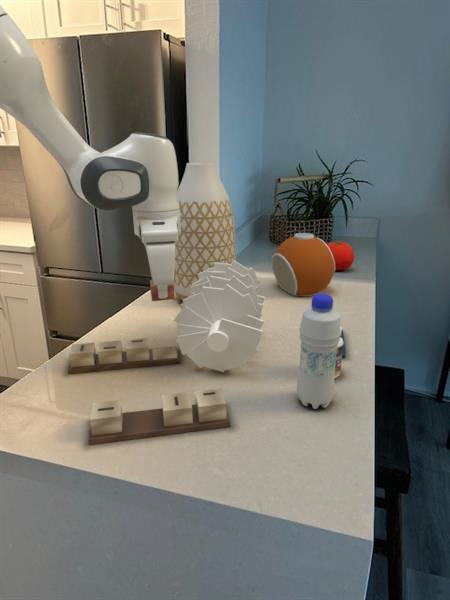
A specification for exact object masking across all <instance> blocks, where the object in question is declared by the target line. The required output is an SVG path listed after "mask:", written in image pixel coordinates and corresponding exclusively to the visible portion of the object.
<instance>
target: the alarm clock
mask: <svg viewBox="0 0 450 600" xmlns="http://www.w3.org/2000/svg"><path fill="white" fill-rule="evenodd" d="M271 269H272V273H273V275H274V277H275V280H276V282H277V284H278V285H279V287H280V289H282V290H284V291H285V292H287V293H289V294H290V295H292V296H298V297H313V296H314V295H316V294H321V293H322V291H323V290H325V289H326V288H327V287H328V286H329V285H330V283H331V281H332V279H333V277H334V275H335V272H336V270H335V261H334V257H333V254H332V252H331V251H330V249H329V247H328V246H327V243H326V241H324V240H323V239H321V238H319V237H317V236H315V235H314V234H313V233H309V232H298V233H295V234H294V236H290V237H289V238H287V239H285V240H284V241H283V242H282V243H281V244H280V245H279V246H278V247H277V248H276V250H275V251H274V252H273V254H272V256H271Z"/></svg>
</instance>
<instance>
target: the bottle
mask: <svg viewBox="0 0 450 600" xmlns="http://www.w3.org/2000/svg"><path fill="white" fill-rule="evenodd" d="M333 307H334V299H333V297H332V296H331V294H330V295H329V294H327V293H318V294H316V295H312V298H311V307H309V308H306V309H305V310H304V311H303V312H302V318H301V322H300V326H299V340H300V356H299V372H298V378H297V384H296V385H297V386H296V394H297V398H298V400H299V401H301V404H302V405H303V406H305V407H308V406H309V405H311V406H312V409H313V410H317V409H319V407H320V406H321V408H323V409H325V408H327V407H329V405H330V403H331V402H332V400H333V398H334V394H335V378H334V373H335V363H336V353H337V344H338V343H339V341H340V335H341V329H340V326H341V315H340V313H339V312H337V311H336V310H334V309H333Z"/></svg>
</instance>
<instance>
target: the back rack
mask: <svg viewBox="0 0 450 600" xmlns="http://www.w3.org/2000/svg"><path fill="white" fill-rule="evenodd" d="M97 349H98V350H97V351H96V344H95V342H86V343H84V342H83V343H76V344H75V343H74V344H71V347H70V351H69V354H68V355H69V365H68V369H67V372H68V375H74V374H84V373H85V374H86V373H94V372H105V371H113V370H123V369H124V370H125V369H135V368H145V367H153V366H165V365H175V364H180V357H179V352H178V347H177V346H168V347H167V346H166V347H157V348H150V346H149V337H145V338H144V337H143V338H131V339H126V343H125V350H123V342H122V339H121V340H111V341H99V343H98V348H97Z"/></svg>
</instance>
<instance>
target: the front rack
mask: <svg viewBox="0 0 450 600" xmlns="http://www.w3.org/2000/svg"><path fill="white" fill-rule="evenodd" d="M122 405H123V404H122V399H117V400H116V399H115V400H108V401H100V402H99V401H98V402H92V403H91V409H90V416H89V424H90V425H89V430H88V437H87V440H88V441H87V442H88V445H89V446H91V445H98V444H106V443H114V442H122V441H123V442H124V441H131V440H137V439H144V438H145V439H146V438H152V437H153V438H154V437H160V436H161V437H162V436H168V435H176V434H184V433H193V432H200V431H208V430H215V429H224V428H230V427H231V419H230V416H229V414H228V410H227V401H226V398H225V396H224V393H223V390H222V388H216V389H215V388H214V389H208V390H207V389H206V390H198V391H194V404H192V401H191V396H190V392H189V391H188V392H179V393H178V392H177V393H171V394H170V393H169V394H162V395H161V407H162V408H154V409H153V408H152V409H145V410H136V411H128V412H127V411H126V412H123V406H122Z"/></svg>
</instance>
